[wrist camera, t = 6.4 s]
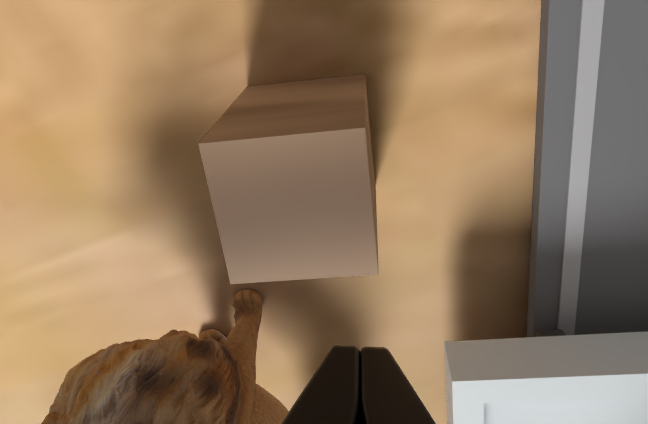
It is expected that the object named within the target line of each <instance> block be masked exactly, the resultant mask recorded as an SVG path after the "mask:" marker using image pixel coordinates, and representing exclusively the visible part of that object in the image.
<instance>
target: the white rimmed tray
mask: <svg viewBox="0 0 648 424" xmlns="http://www.w3.org/2000/svg"><path fill="white" fill-rule="evenodd" d="M444 345H445V373H446V402H447V424H648V331H647V332H627V333H607V334H587V335H567V336H566V334H565V333H564V331H562V330H560V329H558V330H539V331H536V332H535V334H534V337H526V338H506V339H486V340H466V341H446V342H444Z"/></svg>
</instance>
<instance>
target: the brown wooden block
mask: <svg viewBox="0 0 648 424" xmlns="http://www.w3.org/2000/svg"><path fill="white" fill-rule="evenodd" d="M198 146H199V150H200V154H201V159H202V163H203V167H204V172H205V176H206V180H207V185H208V189H209V193H210V198H211V202H212V206H213V211H214V215H215V219H216V224H217V228H218V232H219V237H220V241H221V245H222V250H223V254H224V258H225V263H226V267H227V271H228V276H229V280H230V284H242V283H257V282H272V281H288V280H303V279H318V278H333V277H349V276H364V275H379V274H378V245H377V216H376V188H375V175H374V164H373V152H372V141H371V130H370V118H369V107H368V96H367V84H366V74H359V75H349V76H340V77H331V78H322V79H312V80H303V81H294V82H284V83H275V84H266V85H257V86H247V87H246V89H245V90H244V91H243V92H242V93H241V94H240V96H239V97H238V98H237V99H236V100H235V101H234V103H233V104H232V105H231V106H230V107H229V108H228V110H227V111H226V112H225V113H224V114H223V115H222V117H221V118H220V119H219V120H218V121H217V122H216V123H215V125H214V126H213V127H212V128H211V129H210V130H209V132H208V133H207V134H206V135H205V136H204V137H203V139H202V140H201V141H200V142H199V143H198Z"/></svg>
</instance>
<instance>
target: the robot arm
mask: <svg viewBox="0 0 648 424" xmlns="http://www.w3.org/2000/svg"><path fill="white" fill-rule="evenodd" d="M281 424H436V423H435V422H434V420H433V419H432V417H431V416H430V414H429V412H428V411H427V409H426V408H425V406H424V405H423V403H422V401H421V400H420V398H419V397H418V395H417V394H416V392H415V391H414V389H413V387H412V386H411V384H410V383H409V381H408V380H407V378H406V376H405V375H404V373H403V372H402V370H401V369H400V367H399V366H398V364H397V362H396V361H395V359H394V358H393V356H392V355H391V353H390V352H389V350H388V349H386V348H384V347H363V348H362V349H361V351H360V349H359V348H358V347H357V346H340V345H337V346H334V347H333V348H332V349H331V350H330V352H329V353H328V355H327V356H326V357H325V359H324V360H323V362H322V363H321V365H320V366H319V368H318V369H317V371H316V372H315V374H314V375H313V377H312V378H311V380H310V381H309V383H308V384H307V386H306V387H305V389H304V390H303V392H302V393H301V395H300V396H299V398H298V399H297V401H296V402H295V404H294V405H293V407H292V408H291V410H290V411H289V413H288V414H287V415H286V417H285V418H284V420H283V421H282V423H281Z"/></svg>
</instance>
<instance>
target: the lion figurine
mask: <svg viewBox="0 0 648 424" xmlns="http://www.w3.org/2000/svg"><path fill="white" fill-rule="evenodd" d="M231 304H232V306H233V307H234V309H235V314H234V318H235V326H234V328H233V329H232V330H231V332H230V333H229V335H228V337H227V338H226V337H225V336H224V335H223V334H222V333H221V332H219V331H218V330H214V329H208V330H205V331H202V332H201V333H200V334H199V338H198V337H197V336H196V335H195V334H191V333H189V332H187V331H179V332H178V331H177V330H171V331H170V332H169V333H167V334H165V335H164V336H162V337H161V338H160V339H158V340H150V339H144V340H135V341H132V342H124V343H121V344H113V345H111V346H109V347H108V348H106V349H102V350H99V351H98V352H97V353H95V354H93V355H91V356H89V357H87V358H85V359H84V360H82V361H81V362H80V363H78V364H77V365H76V366H74V367H73V368H71V369H70V370H69V371H68V373H67V375H66V377H65V379H64V382H63V383H62V385H61V387H60V389H59V392H58V394H57V396H56V398H55V400H54V403H53V404H52V405H51V406H50V410H49V414H48V415H47V416H46V417H45V419H44V421H43V422H42V423H41V424H281V423H282V421H283V420H284V418H285V417H286V415H287V414H288V413H289V411H288V410H287V409H286V407H285V406H284V405H283V404H282V403H281V402H280V401H279V400H278V399H277V398H275V397H274V396H273V395H272V394H270V393H269V392H268V391H266V390H265V389H263V388H262V387H260V386H259V385H257V384H256V365H255V361H256V348H257V338H258V332H259V326H260V322H261V317H262V299H261V296H260V295H259V294H258V293H257V292H256V291H253V290H249V289H243V290H239V291H238V292H237V293H236V295H235V296H234V297H232V299H231Z"/></svg>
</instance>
